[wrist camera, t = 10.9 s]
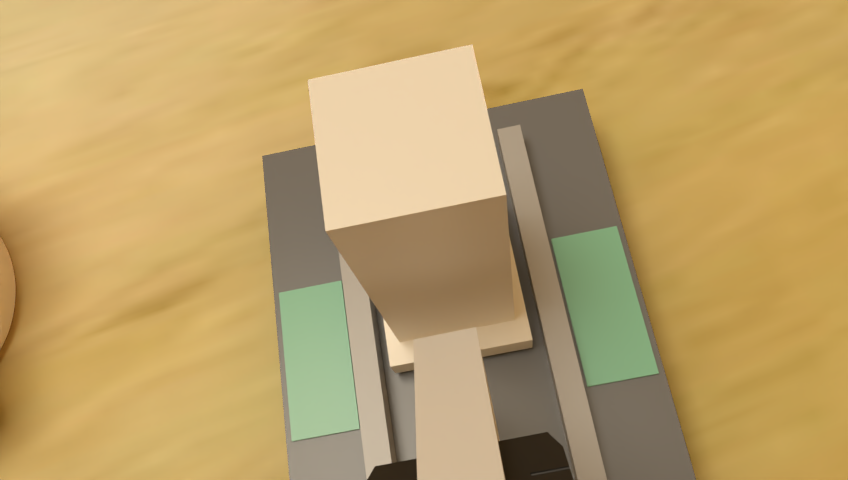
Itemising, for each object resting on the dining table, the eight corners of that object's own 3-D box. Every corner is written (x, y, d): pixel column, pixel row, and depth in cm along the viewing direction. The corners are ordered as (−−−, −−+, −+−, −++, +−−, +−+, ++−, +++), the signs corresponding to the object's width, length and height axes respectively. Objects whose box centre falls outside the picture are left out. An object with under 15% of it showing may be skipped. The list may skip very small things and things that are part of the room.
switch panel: (359, 938, 21) (323, 1025, 17) (286, 190, 30) (253, 142, 26) (786, 878, 20) (844, 954, 16) (577, 130, 29) (584, 73, 26)
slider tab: (395, 373, 23) (308, 268, 14) (374, 230, 25) (286, 57, 16) (532, 347, 23) (534, 223, 14) (501, 205, 25) (484, 14, 16)
